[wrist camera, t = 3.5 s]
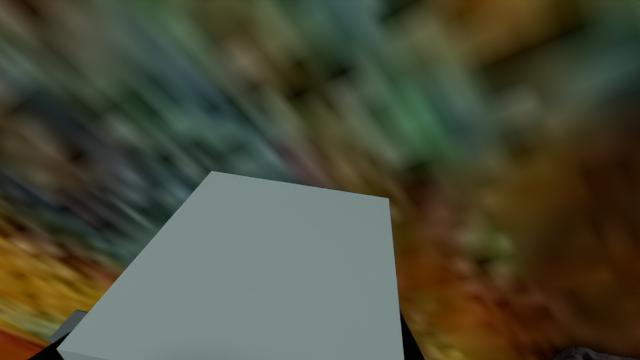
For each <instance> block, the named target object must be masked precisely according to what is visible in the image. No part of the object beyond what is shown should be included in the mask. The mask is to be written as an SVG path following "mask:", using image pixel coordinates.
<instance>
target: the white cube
mask: <svg viewBox="0 0 640 360" xmlns="http://www.w3.org/2000/svg"><path fill="white" fill-rule="evenodd" d="M57 350H58V352H59V353H60V354H61V356H62V357H63V358H64V360H404V353H403V343H402V332H401V322H400V312H399V301H398V291H397V281H396V270H395V260H394V250H393V239H392V229H391V218H390V208H389V198H382V197H376V196H369V195H363V194H357V193H350V192H344V191H337V190H331V189H324V188H318V187H311V186H305V185H298V184H292V183H285V182H279V181H272V180H266V179H259V178H253V177H246V176H240V175H233V174H227V173H220V172H214V171H211V172H210V174H209V175H208V176H207V177H206V178H205V179H204V181H203V182H202V183H201V184H200V185H199V186H198V187H197V189H196V190H195V191H194V192H193V193H192V194H191V195H190V197H189V198H188V199H187V200H186V201H185V202H184V203H183V205H182V206H181V207H180V208H179V209H178V210H177V211H176V213H175V214H174V215H173V216H172V217H171V218H170V219H169V221H168V222H167V223H166V224H165V225H164V226H163V227H162V229H161V230H160V231H159V232H158V233H157V234H156V236H155V237H154V238H153V239H152V240H151V241H150V242H149V244H148V245H147V246H146V247H145V248H144V249H143V250H142V252H141V253H140V254H139V255H138V256H137V257H136V258H135V260H134V261H133V262H132V263H131V264H130V265H129V266H128V268H127V269H126V270H125V271H124V272H123V273H122V274H121V276H120V277H119V278H118V279H117V280H116V281H115V282H114V284H113V285H112V286H111V287H110V288H109V289H108V291H107V292H106V293H105V294H104V295H103V296H102V297H101V299H100V300H99V301H98V302H97V303H96V304H95V305H94V307H93V308H92V309H91V310H90V311H89V312H88V313H87V315H86V316H85V317H84V318H83V319H82V320H81V321H80V323H79V324H78V325H77V326H76V327H75V328H74V329H73V331H72V332H71V333H70V334H69V335H68V336H67V337H66V339H65V340H64V341H63V342H62V343H61V344H60V345H59V347H58V348H57Z"/></svg>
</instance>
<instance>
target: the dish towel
mask: <svg viewBox="0 0 640 360" xmlns="http://www.w3.org/2000/svg"><path fill="white" fill-rule="evenodd" d="M553 360H640V359H638V358H629V357H622V356H618V355H615V354H608V353H600V352H595V351H593V350H592V349H589V348H582V347H569V348H566V349H565V350H563V351H562V352H561V353H559V354H558V355H557V356H556V357H555V358H554V359H553Z"/></svg>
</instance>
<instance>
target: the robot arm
mask: <svg viewBox="0 0 640 360" xmlns="http://www.w3.org/2000/svg"><path fill="white" fill-rule="evenodd" d="M399 312H400V310H399ZM400 322H401V332H402V343H403V353H404V360H425V359H424V357H423V355H422V353H421V351H420V349H419V347H418V345H417V343H416V341H415V339H414V337H413V335H412V333H411V331H410V329H409V328H408V326H407V324H406V322H405V320H404V318H403V316H402V314H401V312H400ZM72 331H73V330H72ZM72 331H71V332H72ZM71 332H69V333H67V334H65V335H64V336H62V337H61V338H60V339H58V340H57V341H55V342H54V343H52V344H51V345H49V346H47V347H46V348H44V349H43V350H41V351H40V352H38V353H37V354H35V355H34V356H32V357H31V358H29V359H27V360H64V358H63V357H62V356H61V354H60V353H59V352H58V350H57V348H58V347H59V345H60V344H61V343H62V342H63V341H64V340H65V339H66V337H67V336H68V335H69V334H70V333H71Z"/></svg>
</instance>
